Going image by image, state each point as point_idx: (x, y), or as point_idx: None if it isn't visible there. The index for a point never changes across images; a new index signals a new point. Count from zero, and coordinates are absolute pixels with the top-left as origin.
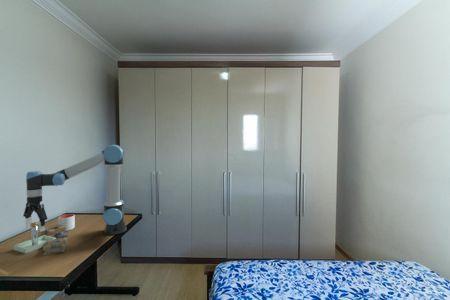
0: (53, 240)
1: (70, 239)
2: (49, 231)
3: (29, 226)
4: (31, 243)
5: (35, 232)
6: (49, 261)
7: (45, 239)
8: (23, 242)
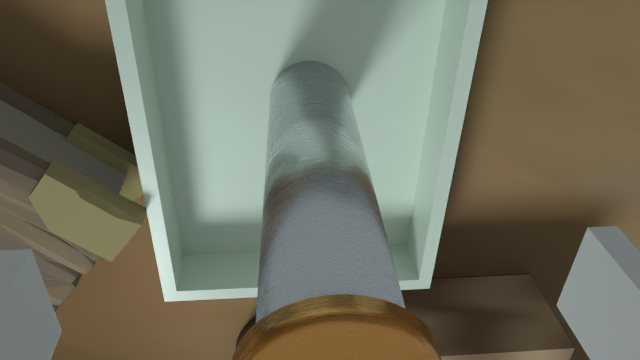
0: (28, 242)
1: (122, 350)
2: None
3: (587, 298)
4: (427, 111)
5: (263, 219)
6: None
7: None
8: (465, 27)
